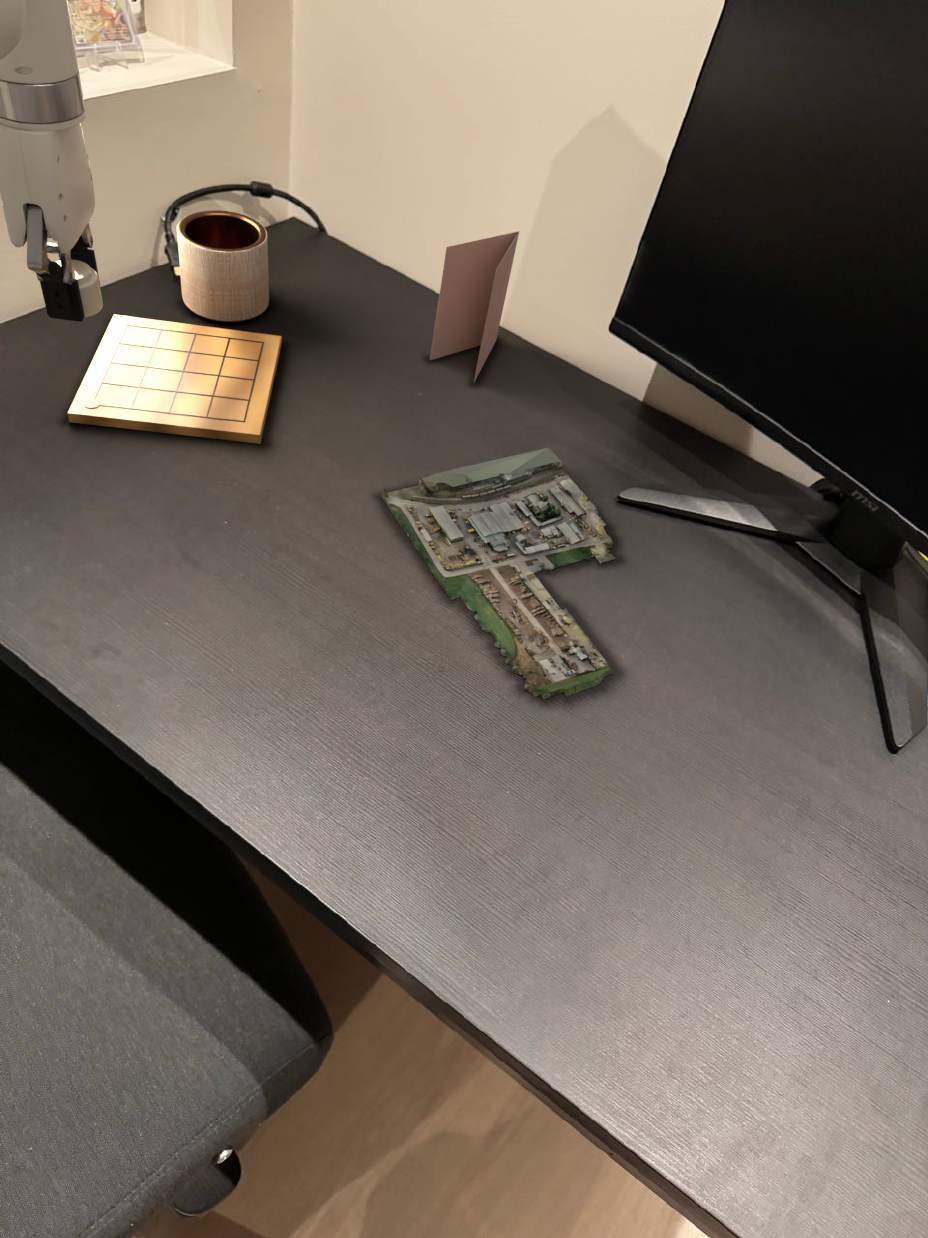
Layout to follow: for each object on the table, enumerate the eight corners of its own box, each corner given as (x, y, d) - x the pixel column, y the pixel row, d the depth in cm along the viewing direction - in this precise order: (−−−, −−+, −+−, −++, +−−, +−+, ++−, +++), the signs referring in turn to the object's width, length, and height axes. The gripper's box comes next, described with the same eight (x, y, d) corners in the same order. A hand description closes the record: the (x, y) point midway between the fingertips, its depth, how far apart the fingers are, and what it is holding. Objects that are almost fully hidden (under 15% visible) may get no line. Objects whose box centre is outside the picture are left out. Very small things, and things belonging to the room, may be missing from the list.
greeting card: (492, 336, 115) (514, 227, 104) (527, 365, 112) (554, 256, 100) (425, 356, 109) (441, 243, 98) (461, 387, 106) (482, 273, 95)
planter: (260, 331, 107) (259, 258, 100) (173, 317, 106) (165, 242, 98) (275, 288, 114) (275, 218, 107) (193, 275, 113) (187, 202, 106)
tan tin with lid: (42, 314, 79) (34, 278, 77) (57, 288, 82) (49, 253, 80) (95, 321, 80) (89, 285, 77) (108, 295, 83) (102, 260, 80)
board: (69, 422, 90) (67, 412, 89) (115, 322, 103) (113, 313, 102) (260, 443, 93) (260, 434, 92) (281, 344, 106) (281, 335, 105)
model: (525, 712, 75) (529, 702, 74) (381, 497, 90) (382, 485, 89) (704, 643, 84) (710, 633, 83) (545, 458, 99) (549, 447, 98)
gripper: (17, 49, 72) (60, 254, 86) (-59, 125, 61) (4, 346, 75) (108, 65, 73) (136, 265, 87) (50, 141, 62) (92, 357, 76)
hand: (74, 300), depth 81 cm, fingers closed on tan tin with lid, 4 cm apart
